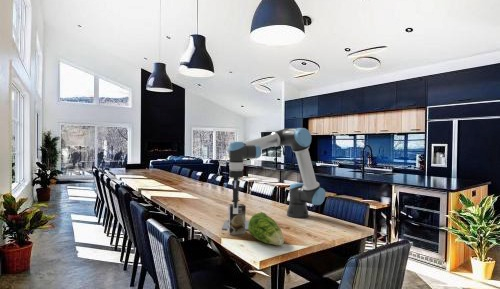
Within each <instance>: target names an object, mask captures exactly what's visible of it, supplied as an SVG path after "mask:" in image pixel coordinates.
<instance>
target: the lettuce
mask: <svg viewBox="0 0 500 289" xmlns="http://www.w3.org/2000/svg"><path fill="white" fill-rule="evenodd" d="M248 221H249V223H248V229H249V231H248V232H249V234H250V235H251V236H252V237H253V238H254V239H256V240H258V241H259V242H262V243H265V244H269V245H275V246H281V245H283V244H284V242H285V239H284V235H283V233H282V229H281V227H280V226H279V225H278V224H277V222H276V221H275V220H274V219H273V218H272V217H271V216H270V215H267V213H265V212H257V213H254V214H253V215H252V216H251V217H250V218H249V220H248Z"/></svg>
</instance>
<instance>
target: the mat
mask: <svg viewBox="0 0 500 289" xmlns="http://www.w3.org/2000/svg"><path fill="white" fill-rule="evenodd" d="M248 223H249V220H245V232H247V231H248V232H249V229H248ZM221 231H228V219H227V220H226V219H225V221H224V222H223V225H222V227H221Z"/></svg>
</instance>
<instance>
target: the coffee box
mask: <svg viewBox="0 0 500 289" xmlns="http://www.w3.org/2000/svg"><path fill="white" fill-rule="evenodd" d="M227 206H228V207H227V210H228V212H227V220H228V230H227V233H228V234H229V235H233V236H234V235H245V234H246V231H245V221H246V209H247V206H246V205H245V204H244V203H238V214H233V203H229V204H227ZM229 235H228V236H229Z"/></svg>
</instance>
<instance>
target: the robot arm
mask: <svg viewBox="0 0 500 289" xmlns="http://www.w3.org/2000/svg"><path fill="white" fill-rule="evenodd" d="M311 134H312V133H311V132H310V130H308V129H307V128H305V127H291V128H289V127H285V128H283V129H280V130H276V131H273V132H271V133H270V134H269V135H266V136H261V137H258V138H254V139H251V140H248V141H231V142H229V146H228V148H227V152H228V155H229V163H228V166H229V167H228V168H229V171H228V172H229V173H228V175H229V176H228V177H229V178H230V179H232V178H233V180H232V181H231V186H232V200H231V202H232V204H233V214H238V204H239V202H240V197H239V193H240V191H239V190H240V185H241V180H239V179H241V178H243V177H244V160H248V159H250V160H251V159H259V158H260V157H261V156H262V150H265V149H268V148H272V147H279V146H282V147H283V146H286V147H287V146H288V147H291V151H292V152H293V153H295V157H296V161H297V166H298V168H299V172H300V176H301V180H302V182H297V183H296V182H294V183H291V184H290V185H289V205H288V208H287V210H286V216H287V217H289V218H295V219H296V218H297V219H304V218H308V217H309V211H308V206H307V204H310V205H316V206H320V205H322V204H323V202H324V201H325V198H326V190H325V189H324V188H323V187H321V185H320V182H318V180H317V179H316V175H315V171H314V168H313V163H312V159H311V156H310V155H311V154H310V151H309V149H310V145H311V143H312V140H313V139H312V135H311Z"/></svg>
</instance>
